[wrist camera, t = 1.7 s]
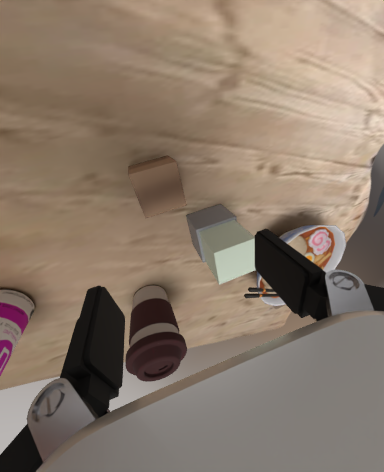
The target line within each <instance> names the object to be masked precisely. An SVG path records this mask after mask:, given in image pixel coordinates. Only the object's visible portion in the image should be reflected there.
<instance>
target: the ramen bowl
mask: <svg viewBox="0 0 384 472" xmlns="http://www.w3.org/2000/svg"><path fill="white" fill-rule="evenodd" d="M279 238H280V239H282V240H283V241H284V242H286V243H287V244H288V245H290V246H291V247H293V248H294V249H295V250H297V251H298V252H299V253H301V254H302V255H304V256H305V257H306V258H308V259H309V260H310V261H312V262H313V263H315V264H316V265H317V266H319V267H320V268H321V269H323V271H325V272H326V273H327V272H329V271H331V270H334V269H335V268H336V266H337V265H338V263H339V262H340V260H341V258H342V255H343V253H344V249H345V247H346V241H345V234H344V232H342V231H341V230H340V229H339V228H338V227H337V226H333V225H309V226H303V227H299V228H296V229H294V230H291V231H288V232H286V233H284V234H283V235H281V236H280V237H279ZM248 290H249V292H258V294H245V295H244V296H245V298H257V297H260V298H261V299H262V300H263V302H264V303H265V304H269V305H273V306H279V305H285V303H284V301H283V300H282V299H281V298H280V297H279V296H278V295H277V294H276V292H275V291H274V290H273V289H272V288H271V287H270V286H269V284H268V283H267V282H266V281H265V280H264V279H263V278H262V277H261V275H260V274H259V273H258V272H257V288H251V287H249V289H248Z"/></svg>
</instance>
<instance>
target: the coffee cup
mask: <svg viewBox="0 0 384 472" xmlns="http://www.w3.org/2000/svg"><path fill="white" fill-rule="evenodd" d="M129 345H130V348H129V350H128V351H127V354H126V369H127V371H128V372H129V373H131V374H133V375H136V376H137V378H138V379H140V380H142V381H156V380H160V379H162V378H165V377H167V376H169V375H170V374H172V373H173V372H174V371H176V369H177V368H178V366H179V365H180V361H181V360H182V359H183V358H184V356H185V355H186V351H187V347H186V343H185V339H184V338H183V336H182V335H180V334H179V328H178V325H177V322H176V319H175V316H174V313H173V310H172V307H171V304H170V303H169V301H168V298H167V295H166V292H165V290H164V289H163V288H161V287H159V286H153V285H152V286H146V287H143V288H142V289H140V290H138V291H137V292H136V294H135V295H134V298H133V308H132V313H131V322H130V336H129Z"/></svg>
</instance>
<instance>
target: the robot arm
mask: <svg viewBox="0 0 384 472" xmlns="http://www.w3.org/2000/svg"><path fill="white" fill-rule="evenodd" d="M255 269H256V271H257V272H258V273H259V274H260V275H261V277H262V278H263V279H264V280H265V281H266V282H267V283H268V284H269V286H270V287H271V288H272V289H273V290H274V291H275V292H276V294H277V295H278V296H279V297H280V298H281V299H282V300H283V301H284V303H285V304H286V305H287V306H288V307H289V308H290V309H291V310H292V312H294V313H295V314H298V315H299V316H300V317H301V318H303V317H305V316H308V315H310V316H311V317H312V318H313V319H314V323H312V324H310V325H307V326H305V327H302V328H300V329H298V330H295V331H293V332H291V333H288V334H286V335H283V336H281V337H279V338H276V339H274V340H272V341H269V342H267V343H265V344H263V345H261V346H258V347H256V348H253V349H251V350H249V351H246V352H244V353H242V354H239V355H237V356H235V357H232V358H230V359H228V360H226V361H223V362H221V363H219V364H216V365H214V366H212V367H209V368H207V369H205V370H202V371H201V372H198V373H196V374H194V375H191V376H189V377H187V378H184V379H182V380H180V381H177V382H175V383H173V384H171V385H168V386H166V387H164V388H162V389H159V390H157V391H155V392H152V393H150V394H148V395H146V396H144V397H141V398H139V399H137V400H135V401H133V402H131V403H129V404H126V405H124V406H122V407H120V408H118V409H115V410H113V411H112V412H110V411H109V409H108V408H109V400H111V399H113V398H115V397H118V394H119V388H120V387H121V386H122V378H123V355H124V332H125V317H124V314H123V313H122V311H121V310H120V308H119V307H118V305H117V304H116V303H115V301H114V300H113V298H112V297H111V295H110V294H109V292H108V291H107V289H106V288H105V287H101V286H96V287H93V288H90V289H88V291H87V294H86V297H85V301H84V304H83V307H82V311H81V314H80V318H79V319H78V320H77V322H76V325H75V329H74V332H73V335H72V339H71V342H70V346H69V349H68V352H67V356H66V359H65V362H64V366H63V369H62V373H61V376H60V378H58V379H55V380H54V381H52V382H50V383H49V384H47V385H46V386H45V387H44V388H43V389H42V390H41V391H40V392H39V393H38V395H37V396H36V398H35V399H34V401H33V402H32V404H31V407H30V409H29V411H28V415H27V425H26V426H25V427H24V428H23V429H22V431H21V432H20V433H19V434H18V435H17V436H16V438H15V439H14V440H13V441H12V442H11V443H10V444H9V446H8V447H7V448H6V449H5V450H4V451H3V453H2V454H1V455H0V472H384V288H381V287H376V286H371V285H366V284H364V283H363V282H362V280H361V279H360V278H359V277H358V276H356V275H354V274H352V273H350V272H347V271H343V270H331V271H329V272H327V273H326V272H325V271H323V269H321V268H320V267H319V266H317V265H316V264H315V263H313V262H312V261H310V260H309V259H308V258H306V257H305V256H304V255H302V254H301V253H299V252H298V251H297V250H295V249H294V248H293V247H291V246H290V245H288V244H287V243H286V242H284V241H283V240H282V239H280V238H279V237H277V236H276V235H275V234H273V233H272V232H271V231H269V230H268V229H264V230H261V231H258V232H257V234H256V235H255Z"/></svg>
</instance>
